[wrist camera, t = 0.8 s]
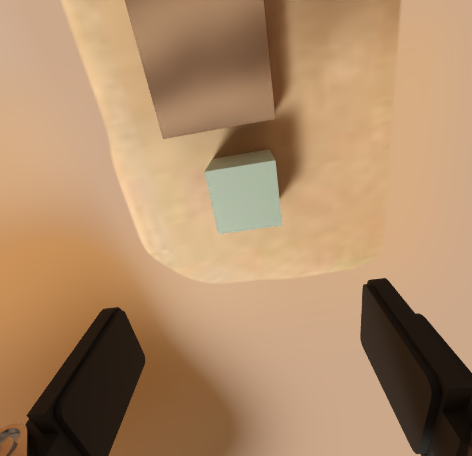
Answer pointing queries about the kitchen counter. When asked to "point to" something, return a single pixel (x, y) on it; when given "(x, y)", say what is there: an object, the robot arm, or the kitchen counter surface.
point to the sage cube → (244, 191)
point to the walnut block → (204, 62)
